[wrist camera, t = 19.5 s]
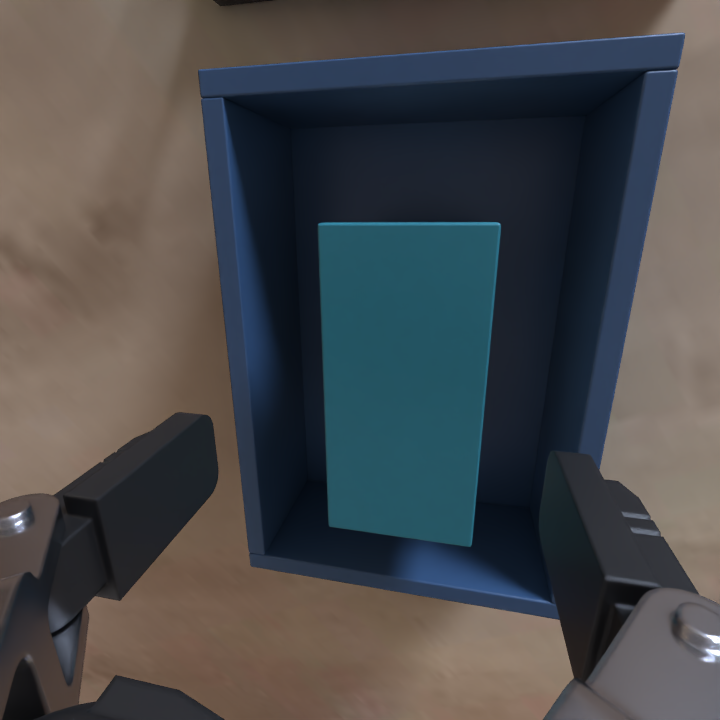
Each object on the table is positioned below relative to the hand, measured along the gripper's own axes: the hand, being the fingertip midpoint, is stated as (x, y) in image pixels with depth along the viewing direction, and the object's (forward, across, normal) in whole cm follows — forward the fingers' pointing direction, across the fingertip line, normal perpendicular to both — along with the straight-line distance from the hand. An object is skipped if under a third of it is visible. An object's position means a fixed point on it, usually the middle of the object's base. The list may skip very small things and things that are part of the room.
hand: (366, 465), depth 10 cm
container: (+12, 0, 0) cm, 12 cm away
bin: (+13, 0, 0) cm, 13 cm away
